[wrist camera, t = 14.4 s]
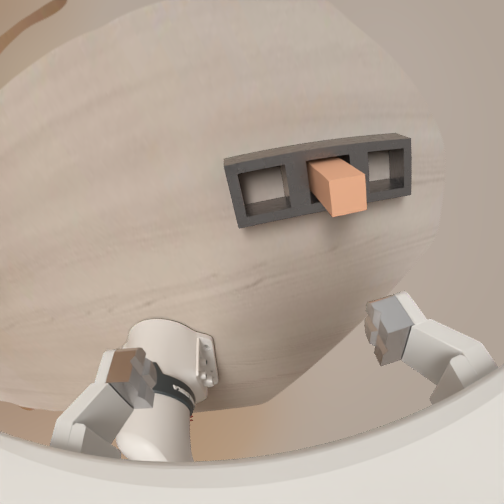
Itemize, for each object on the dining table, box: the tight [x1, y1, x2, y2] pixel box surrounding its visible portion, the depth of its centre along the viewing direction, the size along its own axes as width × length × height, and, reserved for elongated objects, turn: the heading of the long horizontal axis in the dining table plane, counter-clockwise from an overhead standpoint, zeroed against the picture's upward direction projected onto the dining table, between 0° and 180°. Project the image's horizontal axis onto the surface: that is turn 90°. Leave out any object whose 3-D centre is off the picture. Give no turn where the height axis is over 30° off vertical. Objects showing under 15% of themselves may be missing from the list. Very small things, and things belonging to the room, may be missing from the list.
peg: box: [306, 156, 367, 217], centre depth 32 cm, size 4×4×10 cm
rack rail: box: [224, 133, 411, 228], centre depth 35 cm, size 8×24×4 cm, turn 101°
